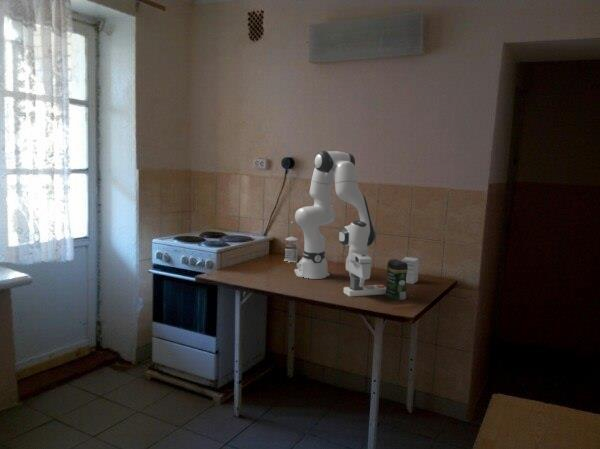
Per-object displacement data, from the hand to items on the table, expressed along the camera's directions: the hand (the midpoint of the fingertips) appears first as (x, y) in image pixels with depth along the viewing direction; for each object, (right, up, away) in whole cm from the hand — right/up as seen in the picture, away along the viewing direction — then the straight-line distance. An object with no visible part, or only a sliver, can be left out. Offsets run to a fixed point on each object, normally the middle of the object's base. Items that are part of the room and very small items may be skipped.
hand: (356, 284), depth 232 cm
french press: (-32, +5, +73) cm, 80 cm away
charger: (0, -5, +1) cm, 5 cm away
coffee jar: (+18, -7, -2) cm, 19 cm away
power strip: (+4, -6, +2) cm, 8 cm away
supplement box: (+32, -3, +30) cm, 44 cm away
